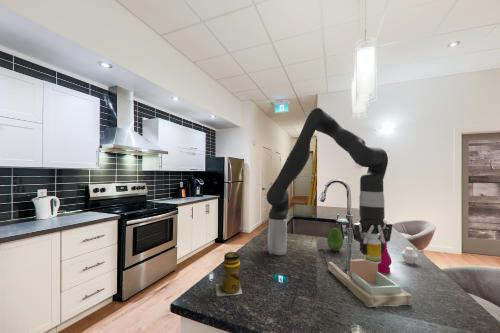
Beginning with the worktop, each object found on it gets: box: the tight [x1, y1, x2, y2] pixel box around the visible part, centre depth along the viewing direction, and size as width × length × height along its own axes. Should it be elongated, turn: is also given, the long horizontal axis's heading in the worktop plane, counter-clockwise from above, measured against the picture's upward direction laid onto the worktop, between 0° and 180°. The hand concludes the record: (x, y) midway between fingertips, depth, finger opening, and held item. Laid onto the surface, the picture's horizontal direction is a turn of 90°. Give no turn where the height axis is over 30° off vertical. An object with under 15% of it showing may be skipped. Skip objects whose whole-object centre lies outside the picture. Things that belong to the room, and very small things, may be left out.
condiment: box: [215, 251, 243, 298], centre depth 72 cm, size 7×8×12 cm
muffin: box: [401, 246, 419, 265], centre depth 95 cm, size 6×6×7 cm
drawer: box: [349, 258, 402, 294], centre depth 70 cm, size 10×11×9 cm
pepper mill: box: [378, 228, 393, 275], centre depth 87 cm, size 7×7×20 cm
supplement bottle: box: [362, 233, 381, 264], centre depth 72 cm, size 5×5×10 cm
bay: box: [327, 261, 412, 307], centre depth 76 cm, size 14×25×3 cm, turn 6°
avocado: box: [326, 227, 344, 252], centre depth 109 cm, size 8×8×12 cm
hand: (371, 253), depth 71 cm, fingers closed on supplement bottle, 5 cm apart
